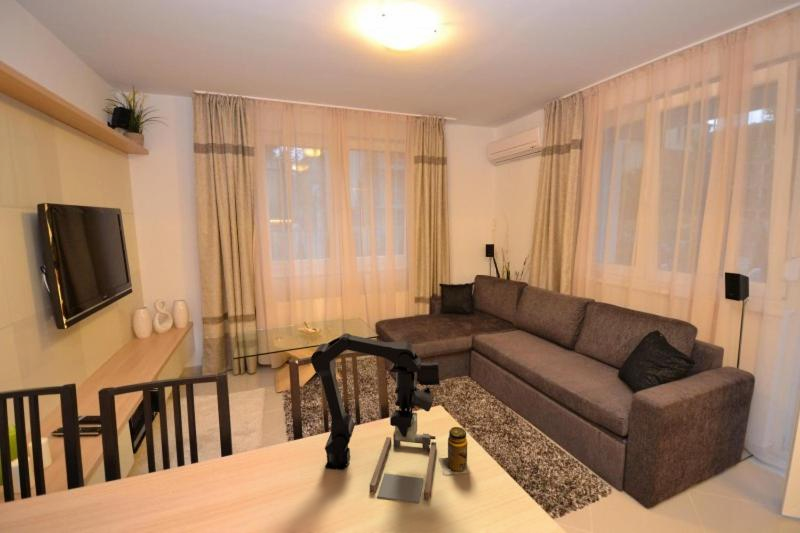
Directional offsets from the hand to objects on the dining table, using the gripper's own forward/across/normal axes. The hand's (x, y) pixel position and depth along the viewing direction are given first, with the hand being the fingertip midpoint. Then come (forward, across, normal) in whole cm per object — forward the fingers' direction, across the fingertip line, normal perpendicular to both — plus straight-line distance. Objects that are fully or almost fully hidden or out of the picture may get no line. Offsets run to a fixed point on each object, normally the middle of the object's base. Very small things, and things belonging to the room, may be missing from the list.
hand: (406, 430), depth 112 cm
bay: (+12, -2, 0) cm, 12 cm away
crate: (+2, 0, 0) cm, 2 cm away
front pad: (+12, -10, 0) cm, 16 cm away
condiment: (+12, +2, -15) cm, 19 cm away
